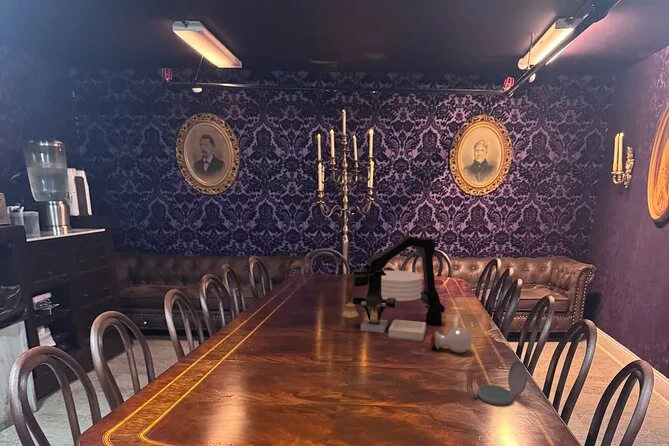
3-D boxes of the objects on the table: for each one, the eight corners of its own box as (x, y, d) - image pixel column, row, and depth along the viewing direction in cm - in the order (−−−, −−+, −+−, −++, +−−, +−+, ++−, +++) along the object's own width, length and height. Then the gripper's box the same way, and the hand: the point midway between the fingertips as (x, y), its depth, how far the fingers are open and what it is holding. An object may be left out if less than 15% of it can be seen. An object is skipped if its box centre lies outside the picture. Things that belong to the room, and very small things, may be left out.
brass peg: (379, 327, 185) (380, 305, 184) (377, 330, 181) (378, 307, 180) (370, 326, 186) (371, 304, 185) (368, 329, 182) (369, 306, 182)
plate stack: (365, 291, 250) (365, 272, 249) (403, 287, 262) (404, 269, 261) (390, 303, 225) (390, 282, 224) (432, 297, 237) (432, 277, 236)
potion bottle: (473, 358, 155) (432, 358, 159) (471, 336, 162) (432, 336, 166) (472, 343, 149) (429, 344, 154) (470, 321, 156) (429, 322, 161)
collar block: (387, 325, 187) (387, 320, 187) (383, 332, 177) (383, 327, 177) (365, 323, 190) (365, 318, 190) (360, 330, 180) (360, 324, 180)
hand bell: (357, 318, 197) (357, 285, 196) (340, 317, 199) (340, 284, 198) (359, 313, 206) (360, 281, 204) (343, 312, 207) (343, 280, 206)
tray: (425, 330, 181) (426, 322, 181) (422, 341, 168) (423, 333, 167) (393, 327, 185) (393, 319, 185) (388, 337, 172) (388, 329, 172)
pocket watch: (530, 369, 117) (478, 369, 117) (529, 406, 118) (476, 407, 117) (514, 355, 127) (466, 355, 127) (513, 389, 128) (464, 390, 127)
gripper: (349, 288, 177) (349, 323, 178) (393, 291, 172) (392, 328, 173) (355, 282, 188) (355, 316, 189) (397, 285, 182) (396, 320, 184)
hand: (374, 320), depth 183 cm, fingers closed on brass peg, 4 cm apart
